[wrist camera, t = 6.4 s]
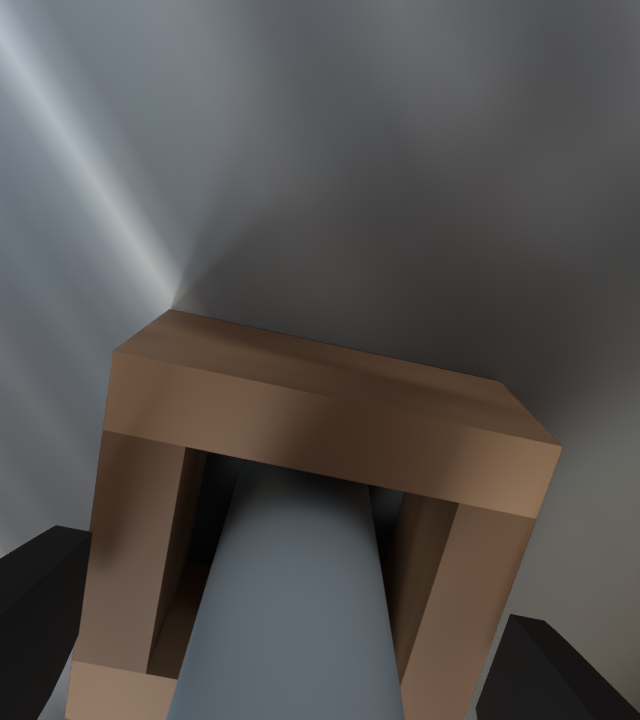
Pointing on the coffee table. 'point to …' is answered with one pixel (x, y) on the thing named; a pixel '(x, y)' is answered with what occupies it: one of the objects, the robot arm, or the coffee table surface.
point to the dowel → (292, 608)
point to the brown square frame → (311, 454)
